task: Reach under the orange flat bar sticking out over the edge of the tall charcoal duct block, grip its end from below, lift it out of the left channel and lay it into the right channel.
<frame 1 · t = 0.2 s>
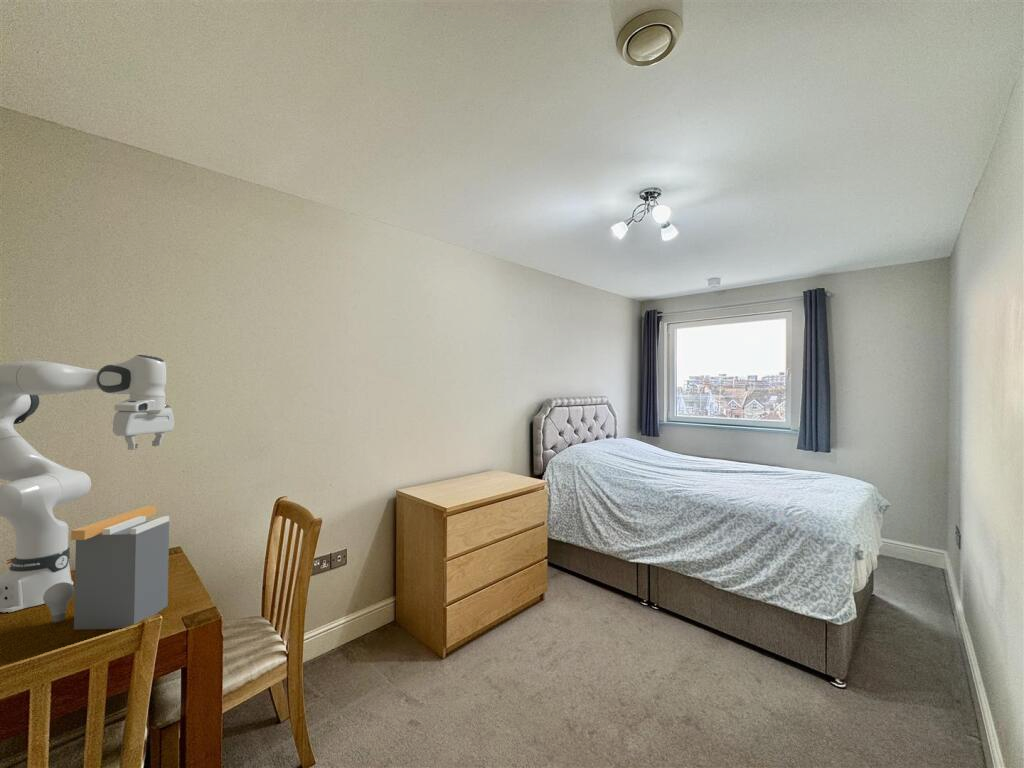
hand: (144, 447, 135), 48 cm above the table, tool pointing down, fingers open, 8 cm apart
orange flat bar: (117, 525, 124), point 26 cm above the table, touching duct block
lightbulb: (58, 622, 119), on the table
duct block: (123, 617, 122), on the table
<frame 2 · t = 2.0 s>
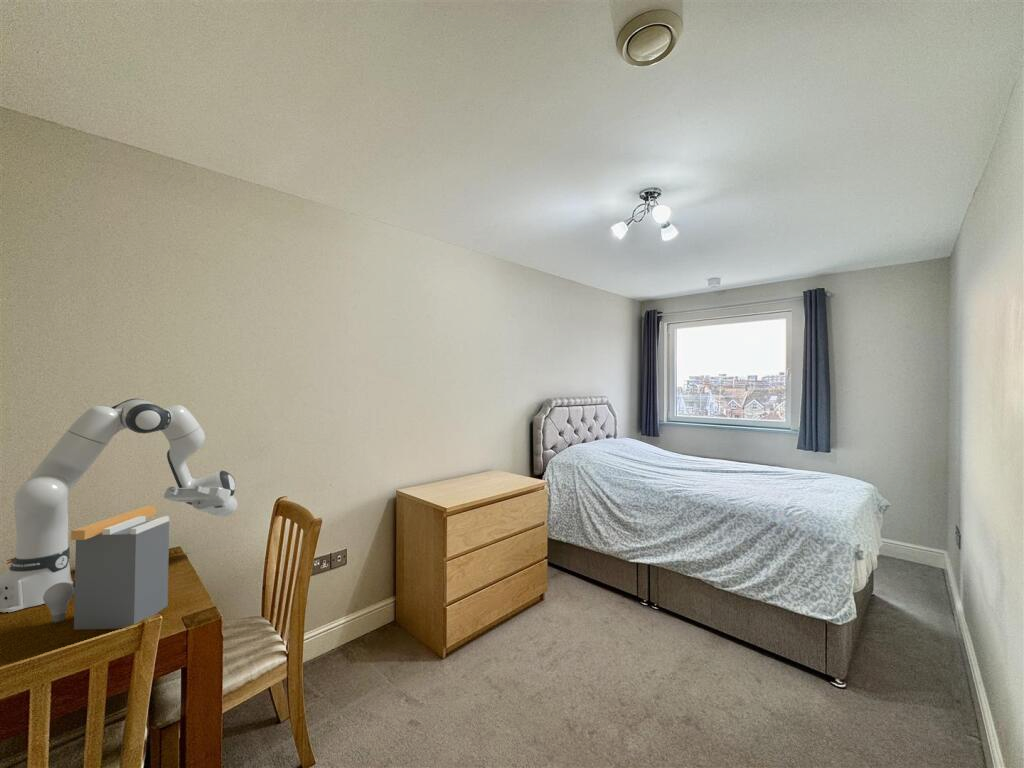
hand: (183, 488, 150), 31 cm above the table, tool pointing upward, fingers open, 8 cm apart
nothing on the table moved.
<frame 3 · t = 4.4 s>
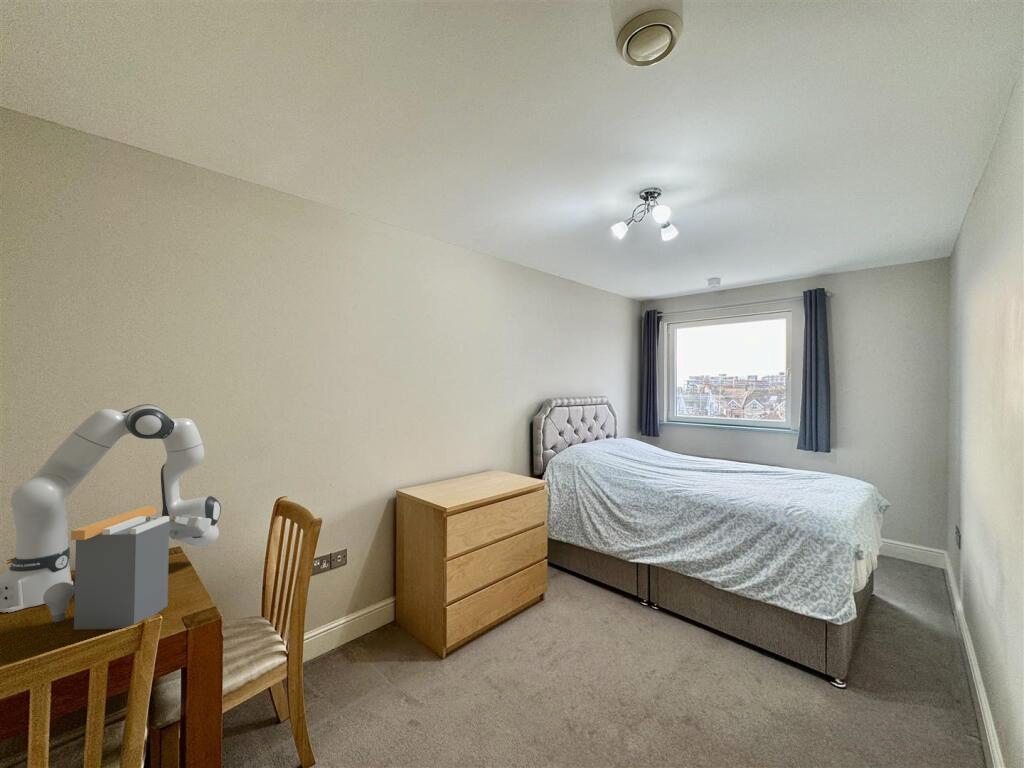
hand: (158, 518, 139), 23 cm above the table, tool pointing upward, fingers open, 8 cm apart
nothing on the table moved.
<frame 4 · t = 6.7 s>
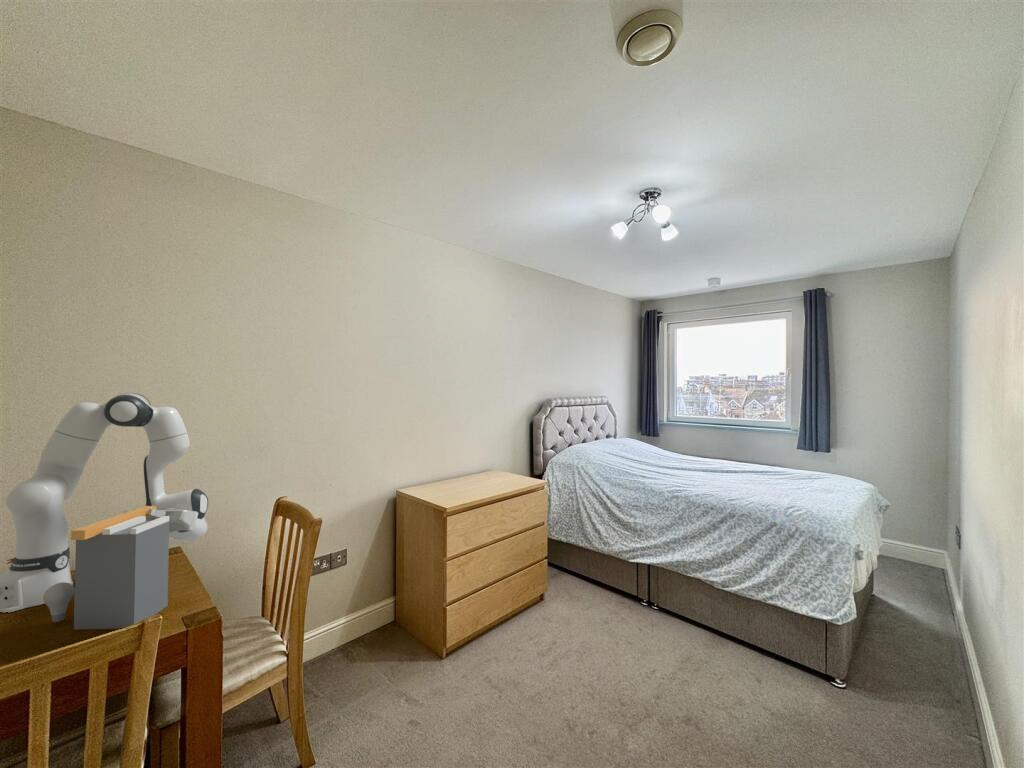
hand: (141, 511, 132), 28 cm above the table, tool pointing upward, fingers closed on orange flat bar, 3 cm apart
orange flat bar: (117, 525, 124), point 26 cm above the table, touching duct block, gripper
everything else where it was.
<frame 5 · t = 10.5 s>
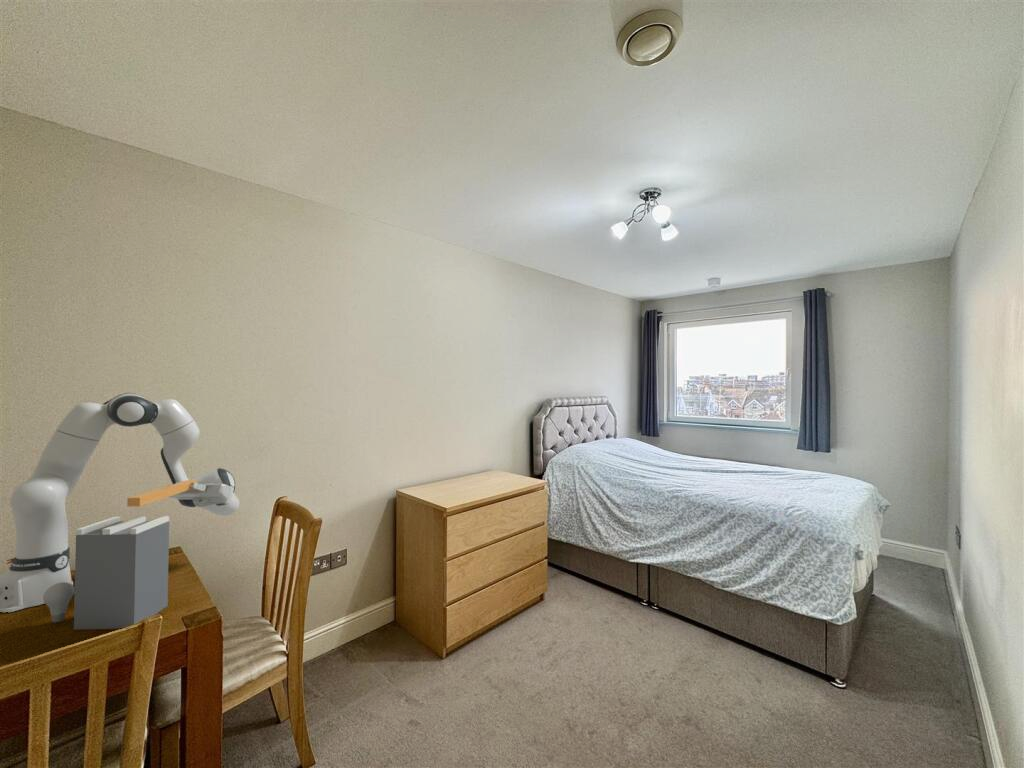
hand: (184, 484, 143), 34 cm above the table, tool pointing upward, fingers closed on orange flat bar, 3 cm apart
orange flat bar: (165, 495, 134), point 32 cm above the table, touching gripper
everything else where it was.
when the fingers open (29 cm above the table, at t = 14.2 s): orange flat bar stays where it is, resting on duct block.
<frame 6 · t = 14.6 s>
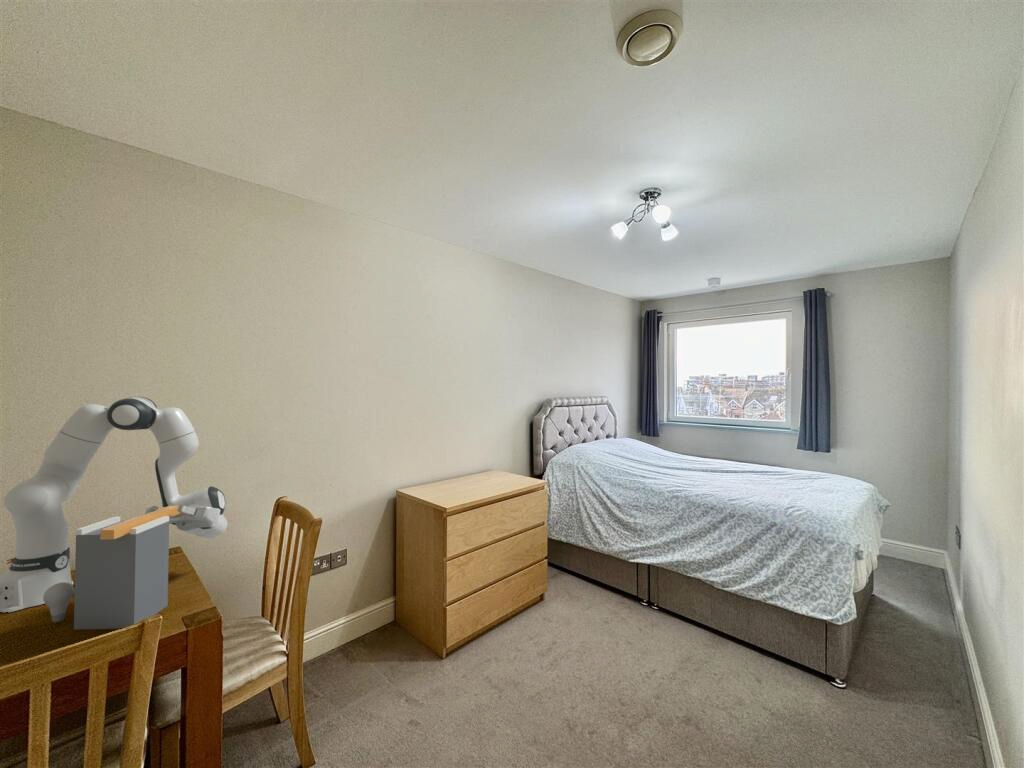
hand: (165, 508, 132), 29 cm above the table, tool pointing upward, fingers open, 7 cm apart
orange flat bar: (144, 525, 124), point 26 cm above the table, touching duct block
everything else where it was.
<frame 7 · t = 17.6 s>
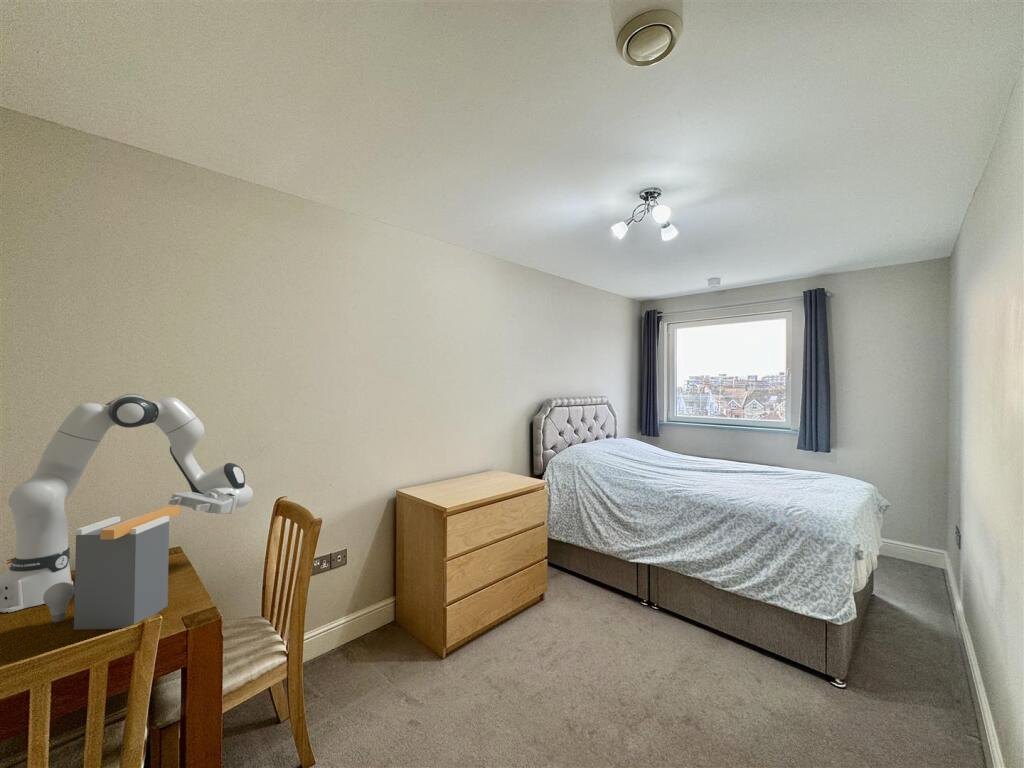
hand: (182, 505, 143), 27 cm above the table, tool horizontal, fingers open, 8 cm apart
nothing on the table moved.
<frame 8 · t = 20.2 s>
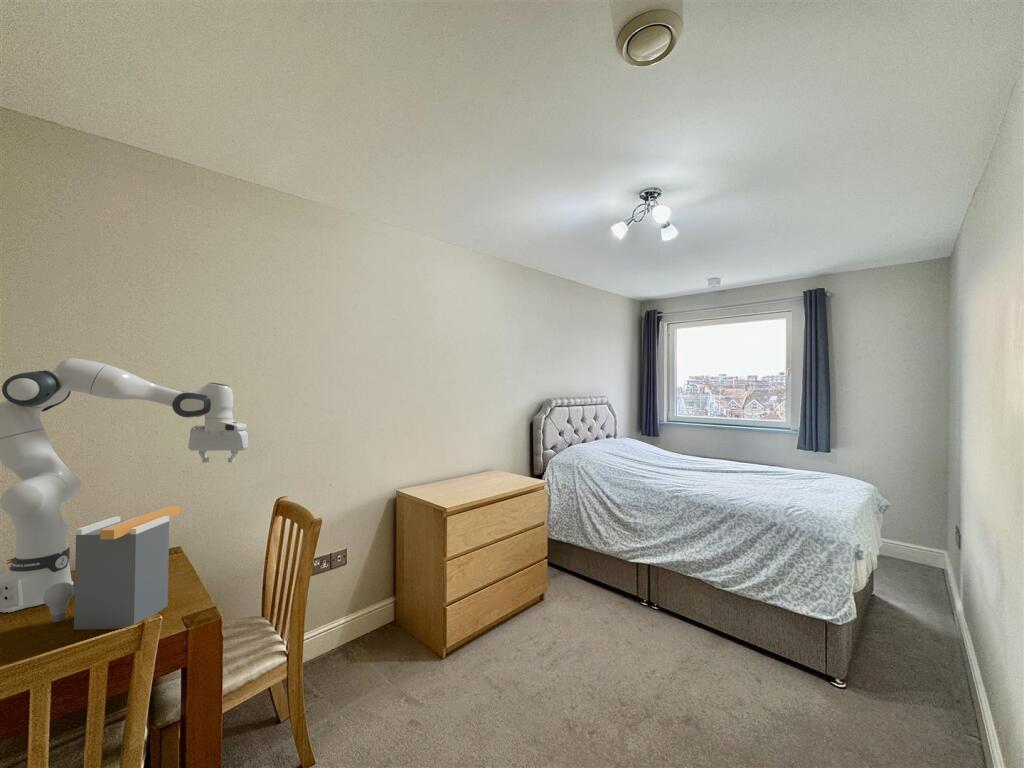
hand: (218, 462, 157), 39 cm above the table, tool pointing down, fingers open, 8 cm apart
nothing on the table moved.
at the end: orange flat bar 0.4 cm from the target spot, point 26.0 cm above the table; the gripper is holding nothing; orange flat bar touching duct block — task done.
